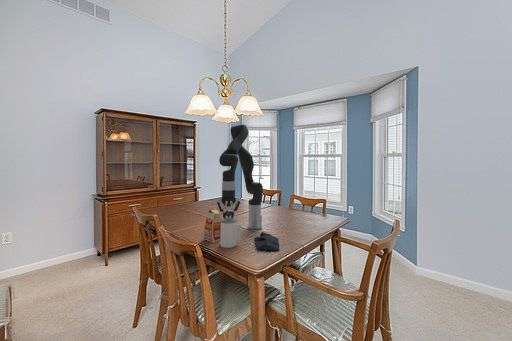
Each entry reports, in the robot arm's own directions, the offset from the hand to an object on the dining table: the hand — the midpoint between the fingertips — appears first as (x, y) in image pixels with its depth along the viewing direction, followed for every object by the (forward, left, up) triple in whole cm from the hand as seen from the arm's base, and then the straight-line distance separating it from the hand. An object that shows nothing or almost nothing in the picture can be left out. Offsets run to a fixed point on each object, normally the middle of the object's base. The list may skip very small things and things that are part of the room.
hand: (228, 218), depth 139 cm
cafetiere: (-1, 0, -16) cm, 16 cm away
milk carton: (+8, -12, -16) cm, 22 cm away
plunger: (0, 0, -12) cm, 12 cm away
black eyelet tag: (-22, +3, -16) cm, 28 cm away
